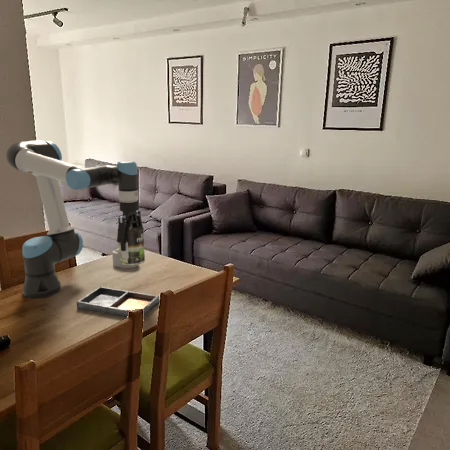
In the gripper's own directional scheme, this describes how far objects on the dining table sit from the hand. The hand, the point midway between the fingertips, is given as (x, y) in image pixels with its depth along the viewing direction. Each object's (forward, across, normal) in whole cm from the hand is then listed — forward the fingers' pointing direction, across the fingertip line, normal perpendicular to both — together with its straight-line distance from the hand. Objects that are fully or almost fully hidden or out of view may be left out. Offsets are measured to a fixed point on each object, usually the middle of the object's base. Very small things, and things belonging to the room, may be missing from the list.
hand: (131, 253), depth 159 cm
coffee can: (+4, 0, 0) cm, 4 cm away
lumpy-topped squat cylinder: (+20, +35, +24) cm, 47 cm away
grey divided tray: (+20, -8, +3) cm, 22 cm away
